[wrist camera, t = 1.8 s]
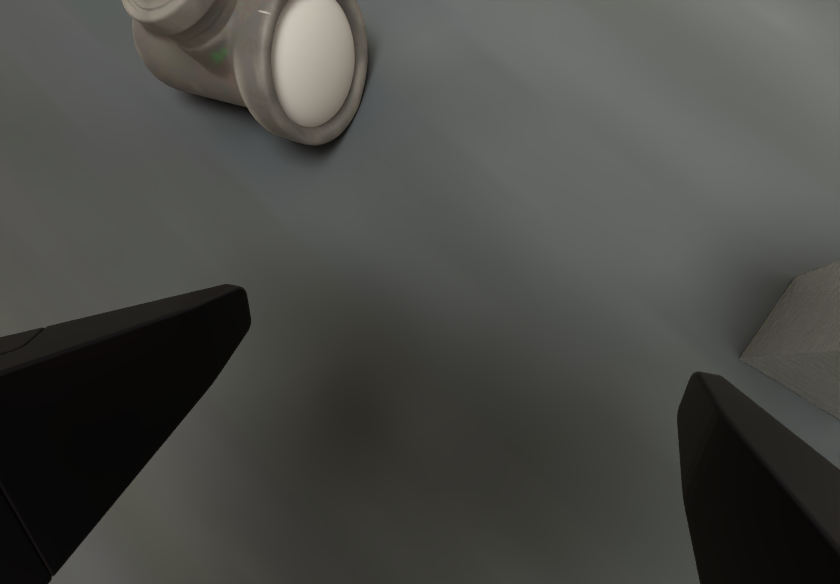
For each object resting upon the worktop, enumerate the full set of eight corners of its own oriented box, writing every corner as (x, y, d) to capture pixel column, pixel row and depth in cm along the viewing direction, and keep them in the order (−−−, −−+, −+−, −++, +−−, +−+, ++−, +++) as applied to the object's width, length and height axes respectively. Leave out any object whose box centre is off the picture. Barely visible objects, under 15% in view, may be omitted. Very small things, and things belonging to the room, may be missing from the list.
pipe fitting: (393, 42, 27) (283, -128, 18) (340, 170, 27) (203, 69, 18) (245, 15, 32) (95, -133, 22) (201, 125, 32) (32, 25, 22)
